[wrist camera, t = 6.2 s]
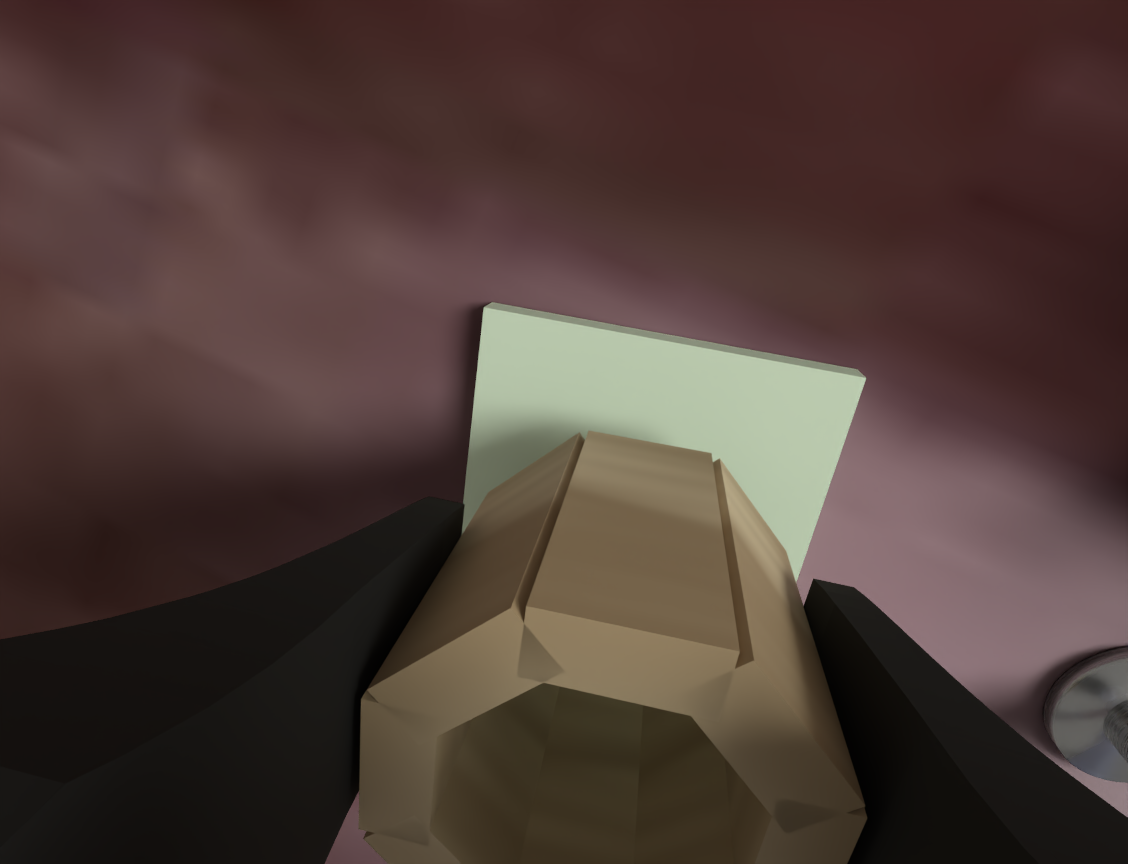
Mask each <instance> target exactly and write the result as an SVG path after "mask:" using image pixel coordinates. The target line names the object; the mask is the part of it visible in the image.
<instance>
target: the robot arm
mask: <svg viewBox="0 0 1128 864" xmlns="http://www.w3.org/2000/svg"><path fill="white" fill-rule="evenodd" d="M464 507H465V504H461V503H457V502H452V501H447V500H443V499H438V498H433V497H427V498H424V499H422V500H420V501H417V502H415V503H413V504H411V505H409V506H407V507H405V508H403V509H401V510H399V511H397V512H395V513H393V514H391V515H389V516H387V517H385V518H383V519H381V520H379V521H377V522H375V523H373V524H371V525H369V526H367V527H365V528H363V529H361V530H359V531H357V532H355V533H353V534H351V535H349V536H347V537H345V538H343V539H341V540H339V541H336V542H334V543H332V544H330V545H327V546H325V547H323V548H320V549H318V550H316V551H313V552H311V553H309V554H306V555H304V556H302V557H300V558H297V559H295V560H293V561H290V562H288V563H286V564H283V565H281V566H279V567H276V568H273V569H271V570H268V571H266V572H263V573H260V574H258V575H255V576H252V577H249V578H247V579H244V580H241V581H238V582H235V583H232V584H229V585H226V586H223V587H220V588H217V589H214V590H211V591H208V592H204V593H201V594H198V595H195V596H191V597H188V598H184V599H180V600H176V601H172V602H169V603H165V604H161V605H157V606H153V607H150V608H146V609H142V610H138V611H134V612H131V613H127V614H123V615H119V616H115V617H111V618H107V619H103V620H98V621H93V622H89V623H84V624H79V625H75V626H70V627H65V628H60V629H55V630H50V631H45V632H39V633H34V634H28V635H23V636H18V637H12V638H7V639H1V640H0V864H324V863H325V861H326V859H327V857H328V855H329V852H330V850H331V848H332V846H333V843H334V841H335V839H336V837H337V835H338V832H339V830H340V828H341V826H342V824H343V821H344V819H345V817H346V815H347V813H348V811H349V809H350V807H351V805H352V803H353V801H354V799H355V797H356V795H357V793H358V791H359V781H360V729H361V698H362V697H363V695H364V693H365V692H366V690H367V689H368V687H369V685H370V684H371V682H372V680H373V679H374V677H375V675H376V674H377V672H378V671H379V669H380V667H381V666H382V664H383V662H384V661H385V659H386V658H387V656H388V654H389V653H390V651H391V649H392V648H393V646H394V645H395V643H396V641H397V640H398V638H399V636H400V635H401V633H402V632H403V630H404V628H405V627H406V625H407V623H408V622H409V620H410V619H411V617H412V615H413V614H414V612H415V610H416V609H417V607H418V606H419V604H420V602H421V601H422V599H423V597H424V596H425V594H426V593H427V591H428V589H429V588H430V586H431V584H432V583H433V581H434V580H435V578H436V576H437V575H438V573H439V571H440V570H441V568H442V567H443V565H444V563H445V562H446V560H447V558H448V557H449V555H450V554H451V552H452V550H453V549H454V547H455V545H456V544H457V542H458V541H459V539H460V537H461V535H462V526H463V517H464ZM804 610H805V613H806V616H807V619H808V623H809V626H810V629H811V632H812V635H813V639H814V642H815V645H816V648H817V652H818V655H819V658H820V661H821V664H822V668H823V671H824V674H825V677H826V680H827V684H828V687H829V690H830V693H831V696H832V700H833V703H834V706H835V709H836V713H837V716H838V719H839V722H840V725H841V729H842V732H843V735H844V738H845V741H846V745H847V748H848V751H849V754H850V757H851V761H852V764H853V767H854V770H855V774H856V777H857V780H858V783H859V786H860V790H861V793H862V796H863V799H864V802H865V807H864V808H865V812H866V815H867V820H866V823H865V825H864V827H863V829H862V832H861V834H860V836H859V838H858V841H857V843H856V845H855V847H854V850H853V852H852V854H851V856H850V859H849V861H848V863H847V864H1128V818H1127V817H1126V816H1125V815H1123V814H1122V813H1120V812H1119V811H1118V810H1116V809H1115V808H1114V807H1112V806H1111V805H1110V804H1108V803H1107V802H1106V801H1104V800H1103V799H1102V798H1100V797H1099V796H1098V795H1096V794H1095V793H1094V792H1092V791H1091V790H1090V789H1088V788H1087V787H1086V786H1084V785H1083V784H1082V783H1080V782H1079V781H1078V780H1076V779H1075V778H1074V777H1072V776H1071V775H1070V774H1068V773H1067V772H1066V771H1064V770H1063V769H1062V768H1060V767H1059V766H1058V765H1057V764H1055V763H1054V762H1053V761H1051V760H1050V759H1049V758H1048V757H1046V756H1045V755H1044V754H1043V753H1041V752H1040V751H1039V750H1038V749H1036V748H1035V747H1034V746H1033V745H1031V744H1030V743H1029V742H1028V741H1027V740H1025V739H1024V738H1023V737H1022V736H1021V735H1019V734H1018V733H1017V732H1016V731H1015V730H1014V729H1012V728H1011V727H1010V726H1009V725H1008V724H1006V723H1005V722H1004V721H1003V720H1002V719H1000V718H999V717H998V716H997V715H996V714H995V713H993V712H992V711H991V710H990V709H989V708H987V707H986V706H985V705H984V704H983V703H982V702H981V701H979V700H978V699H977V698H976V697H975V696H974V695H973V694H971V693H970V692H969V691H968V690H967V689H966V688H965V687H964V686H962V685H961V684H960V683H959V682H958V681H957V680H956V679H955V678H954V677H953V676H951V675H950V674H949V673H948V672H947V671H946V670H945V669H944V668H943V667H942V666H941V665H939V664H938V663H937V662H936V661H935V660H934V659H933V658H932V657H931V656H930V655H929V654H928V653H926V652H925V651H924V650H923V649H922V648H921V647H920V646H919V645H918V644H917V643H916V642H915V641H914V640H913V639H911V638H910V637H909V636H908V635H907V634H906V633H905V632H904V631H903V630H902V629H901V628H900V627H899V626H898V625H897V624H895V623H894V622H893V621H892V620H891V619H890V618H889V617H888V616H887V615H886V614H885V613H884V612H882V611H881V610H880V609H879V608H878V607H877V606H876V605H875V604H874V603H872V602H871V601H870V600H869V599H868V598H867V597H865V596H864V595H863V594H862V593H861V592H859V591H858V590H857V589H855V588H854V587H850V586H845V585H841V584H836V583H831V582H826V581H822V580H817V579H813V581H812V584H811V587H810V590H809V593H808V595H807V598H806V601H805V604H804Z"/></svg>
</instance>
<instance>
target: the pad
mask: <svg viewBox="0 0 1128 864" xmlns="http://www.w3.org/2000/svg"><path fill="white" fill-rule="evenodd" d="M865 380H866V377H865V376H864V375H863V374H861V373H860V372H859V371H858V370H857V369H853V368H847V367H842V366H836V365H831V364H825V363H820V362H815V361H809V360H804V359H798V358H793V357H787V356H782V355H777V354H771V353H766V352H760V351H755V350H749V349H744V348H739V347H733V346H728V345H722V344H717V343H711V342H706V341H701V340H695V339H690V338H684V337H679V336H673V335H668V334H662V333H657V332H652V331H646V330H641V329H635V328H630V327H624V326H619V325H614V324H608V323H603V322H597V321H592V320H586V319H581V318H576V317H570V316H565V315H559V314H554V313H548V312H543V311H538V310H532V309H527V308H521V307H516V306H510V305H505V304H499V303H494V302H491V303H490V304H488V305H487V306H485V307H484V310H483V319H482V329H481V338H480V348H479V357H478V367H477V376H476V386H475V395H474V405H473V414H472V424H471V433H470V443H469V452H468V462H467V471H466V481H465V490H464V499H463V504H465V507H464V517H463V526H462V534H463V532H464V531H465V529H466V527H467V526H468V524H469V523H470V521H471V519H472V518H473V516H474V514H475V513H476V511H477V510H478V508H479V506H480V505H481V503H482V501H483V500H484V498H485V497H486V495H487V493H488V492H489V491H491V490H492V489H494V488H495V487H497V486H498V485H500V484H501V483H503V482H505V481H506V480H508V479H509V478H511V477H512V476H514V475H515V474H517V473H518V472H520V471H521V470H523V469H524V468H526V467H527V466H529V465H530V464H532V463H533V462H535V461H536V460H538V459H539V458H541V457H543V456H544V455H546V454H547V453H549V452H550V451H552V450H553V449H555V448H556V447H558V446H559V445H561V444H562V443H564V442H565V441H567V440H568V439H570V438H571V437H573V436H574V435H576V434H577V433H579V432H580V434H581V435H582V436H583V438H584V439H586V436H587V433H588V431H594V432H600V433H605V434H611V435H616V436H622V437H627V438H632V439H638V440H643V441H649V442H654V443H660V444H665V445H670V446H676V447H681V448H687V449H692V450H698V451H703V452H709V453H712V460H713V462H714V461H716V460H717V459H719V458H720V459H721V461H722V462H723V463H724V465H725V466H726V468H727V469H728V470H729V472H730V473H731V475H732V476H733V477H734V479H735V480H736V482H737V483H738V484H739V486H740V487H741V489H742V490H743V491H744V493H745V494H746V496H747V497H748V498H749V500H750V501H751V503H752V504H753V505H754V507H755V508H756V510H757V511H758V512H759V514H760V515H761V516H762V518H763V519H764V521H765V522H766V523H767V525H768V526H769V528H770V529H771V530H772V532H773V533H774V535H775V536H776V537H777V539H778V540H779V542H780V543H781V544H782V546H783V547H784V549H785V550H786V552H787V555H788V558H789V562H790V565H791V568H792V571H793V574H794V578H795V581H797V579H798V576H799V573H800V570H801V567H802V564H803V561H804V558H805V555H806V552H807V549H808V546H809V544H810V541H811V538H812V535H813V532H814V529H815V526H816V523H817V520H818V517H819V514H820V511H821V509H822V506H823V503H824V500H825V497H826V494H827V491H828V488H829V485H830V482H831V479H832V476H833V474H834V471H835V468H836V465H837V462H838V459H839V456H840V453H841V450H842V447H843V444H844V441H845V439H846V436H847V433H848V430H849V427H850V424H851V421H852V418H853V415H854V412H855V409H856V406H857V404H858V401H859V398H860V395H861V392H862V389H863V386H864V383H865ZM461 536H462V535H461Z"/></svg>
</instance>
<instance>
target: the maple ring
mask: <svg viewBox="0 0 1128 864" xmlns="http://www.w3.org/2000/svg"><path fill="white" fill-rule="evenodd" d="M864 807H865V802H864V799H863V796H862V793H861V790H860V786H859V783H858V780H857V777H856V774H855V770H854V767H853V764H852V761H851V757H850V754H849V751H848V748H847V745H846V741H845V738H844V735H843V732H842V729H841V725H840V722H839V719H838V716H837V713H836V709H835V706H834V703H833V700H832V696H831V693H830V690H829V687H828V684H827V680H826V677H825V674H824V671H823V668H822V664H821V661H820V658H819V655H818V652H817V648H816V645H815V642H814V639H813V635H812V632H811V629H810V626H809V623H808V619H807V616H806V613H805V610H804V607H803V603H802V600H801V597H800V594H799V591H798V587H797V584H796V581H795V578H794V574H793V571H792V568H791V565H790V562H789V558H788V555H787V552H786V550H785V549H784V547H783V546H782V544H781V543H780V542H779V540H778V539H777V537H776V536H775V535H774V533H773V532H772V530H771V529H770V528H769V526H768V525H767V523H766V522H765V521H764V519H763V518H762V516H761V515H760V514H759V512H758V511H757V510H756V508H755V507H754V505H753V504H752V503H751V501H750V500H749V498H748V497H747V496H746V494H745V493H744V491H743V490H742V489H741V487H740V486H739V484H738V483H737V482H736V480H735V479H734V477H733V476H732V475H731V473H730V472H729V470H728V469H727V468H726V466H725V465H724V463H723V462H722V461H721V459H720V458H719V459H717V460H716V461H714V462H713V460H712V453H709V452H703V451H698V450H692V449H687V448H681V447H676V446H670V445H665V444H660V443H654V442H649V441H643V440H638V439H632V438H627V437H622V436H616V435H611V434H605V433H600V432H594V431H588V433H587V436H586V439H584V438H583V436H582V435H581V434H580V432H579V433H577V434H576V435H574V436H573V437H571V438H570V439H568V440H567V441H565V442H564V443H562V444H561V445H559V446H558V447H556V448H555V449H553V450H552V451H550V452H549V453H547V454H546V455H544V456H543V457H541V458H539V459H538V460H536V461H535V462H533V463H532V464H530V465H529V466H527V467H526V468H524V469H523V470H521V471H520V472H518V473H517V474H515V475H514V476H512V477H511V478H509V479H508V480H506V481H505V482H503V483H501V484H500V485H498V486H497V487H495V488H494V489H492V490H491V491H489V492H488V493H487V495H486V497H485V498H484V500H483V501H482V503H481V505H480V506H479V508H478V510H477V511H476V513H475V514H474V516H473V518H472V519H471V521H470V523H469V524H468V526H467V527H466V529H465V531H464V532H463V534H462V536H461V537H460V539H459V541H458V542H457V544H456V545H455V547H454V549H453V550H452V552H451V554H450V555H449V557H448V558H447V560H446V562H445V563H444V565H443V567H442V568H441V570H440V571H439V573H438V575H437V576H436V578H435V580H434V581H433V583H432V584H431V586H430V588H429V589H428V591H427V593H426V594H425V596H424V597H423V599H422V601H421V602H420V604H419V606H418V607H417V609H416V610H415V612H414V614H413V615H412V617H411V619H410V620H409V622H408V623H407V625H406V627H405V628H404V630H403V632H402V633H401V635H400V636H399V638H398V640H397V641H396V643H395V645H394V646H393V648H392V649H391V651H390V653H389V654H388V656H387V658H386V659H385V661H384V662H383V664H382V666H381V667H380V669H379V671H378V672H377V674H376V675H375V677H374V679H373V680H372V682H371V684H370V685H369V687H368V689H367V690H366V692H365V693H364V695H363V697H362V698H361V729H360V781H359V829H361V830H364V831H367V832H366V834H365V836H364V838H363V839H364V840H365V841H366V842H367V843H368V844H369V845H370V846H371V847H372V848H373V849H374V850H375V851H376V852H377V853H378V854H379V855H380V856H381V857H382V858H383V859H384V860H385V861H386V862H387V863H388V864H847V863H848V861H849V859H850V856H851V854H852V852H853V850H854V847H855V845H856V843H857V841H858V838H859V836H860V834H861V832H862V829H863V827H864V825H865V823H866V820H867V815H866V812H865V808H864Z"/></svg>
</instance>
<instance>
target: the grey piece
mask: <svg viewBox="0 0 1128 864" xmlns="http://www.w3.org/2000/svg"><path fill="white" fill-rule="evenodd" d="M1043 717H1044V724H1045V727H1046V730H1047V732H1048V734H1049V736H1050V737H1051V739H1052V740H1053V742H1054V743H1055V744H1056V746H1057V747H1058V749H1059V750H1060V752H1061V753H1062V754H1063V756H1064V757H1065V758H1066V759H1067V760H1068V761H1069V762H1070V763H1071V764H1073V765H1074V766H1075V767H1077V768H1078V769H1080V770H1082V771H1083V772H1085V773H1087V774H1090V775H1092V776H1095V777H1098V778H1101V779H1105V780H1110V781H1115V782H1125V783H1128V647H1124V648H1118V649H1113V650H1109V651H1106V652H1103V653H1099V654H1097V655H1094V656H1092V657H1090V658H1087V659H1085V660H1084V661H1082V662H1080V663H1078V664H1076V665H1075V666H1074V667H1072V668H1071V669H1069V670H1068V671H1067V672H1066V673H1065V674H1063V675H1062V676H1061V677H1060V678H1059V679H1058V681H1057V682H1056V683H1055V684H1054V685H1053V687H1052V688H1051V690H1050V692H1049V694H1048V696H1047V698H1046V701H1045V705H1044V712H1043Z"/></svg>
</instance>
